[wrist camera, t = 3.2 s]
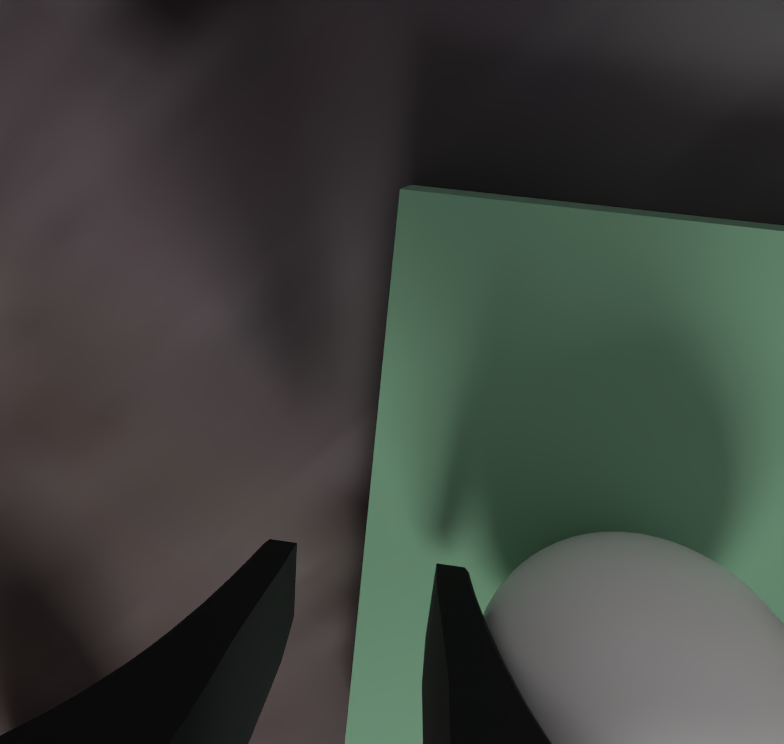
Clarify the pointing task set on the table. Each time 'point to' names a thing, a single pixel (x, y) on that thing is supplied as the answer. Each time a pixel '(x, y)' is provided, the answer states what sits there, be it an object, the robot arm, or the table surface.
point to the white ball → (639, 645)
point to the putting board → (563, 408)
